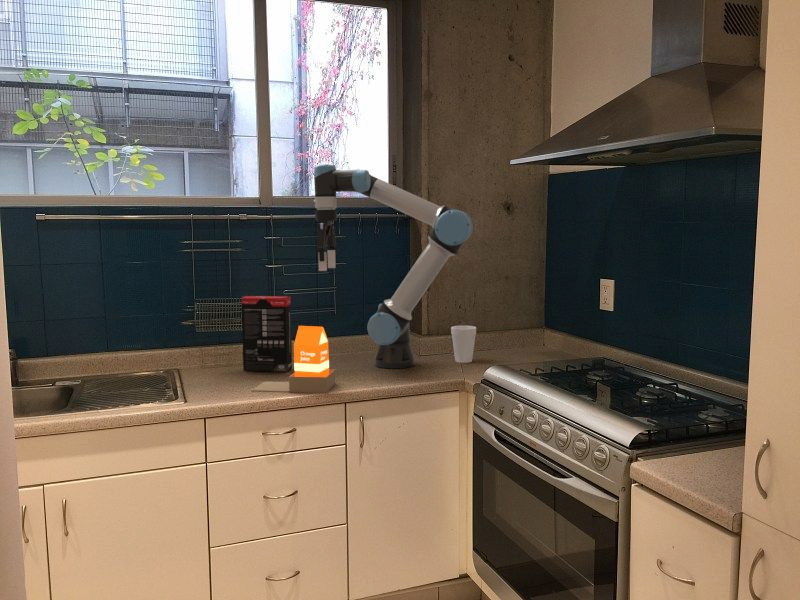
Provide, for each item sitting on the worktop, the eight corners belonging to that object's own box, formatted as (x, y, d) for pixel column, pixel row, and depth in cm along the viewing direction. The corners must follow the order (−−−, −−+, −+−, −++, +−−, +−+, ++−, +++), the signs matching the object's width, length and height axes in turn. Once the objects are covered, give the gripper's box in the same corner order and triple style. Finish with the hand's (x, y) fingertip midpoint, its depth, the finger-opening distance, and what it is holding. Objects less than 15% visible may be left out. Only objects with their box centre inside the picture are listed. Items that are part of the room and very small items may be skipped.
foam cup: (480, 360, 266) (480, 326, 264) (469, 364, 258) (469, 330, 257) (458, 357, 271) (458, 324, 269) (446, 361, 263) (446, 328, 262)
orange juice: (319, 390, 220) (318, 328, 217) (294, 389, 222) (292, 327, 220) (329, 385, 227) (328, 324, 225) (305, 383, 230) (303, 323, 227)
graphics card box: (293, 368, 255) (291, 295, 252) (288, 372, 248) (286, 297, 245) (248, 368, 257) (245, 295, 254) (242, 372, 250) (239, 297, 247)
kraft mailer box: (335, 384, 230) (335, 369, 230) (327, 392, 219) (326, 377, 218) (264, 382, 233) (263, 368, 233) (252, 391, 222) (251, 376, 221)
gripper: (323, 209, 257) (325, 266, 259) (306, 209, 232) (307, 272, 235) (343, 209, 256) (345, 266, 258) (328, 208, 231) (329, 272, 234)
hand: (327, 269), depth 247 cm, fingers open, 13 cm apart
